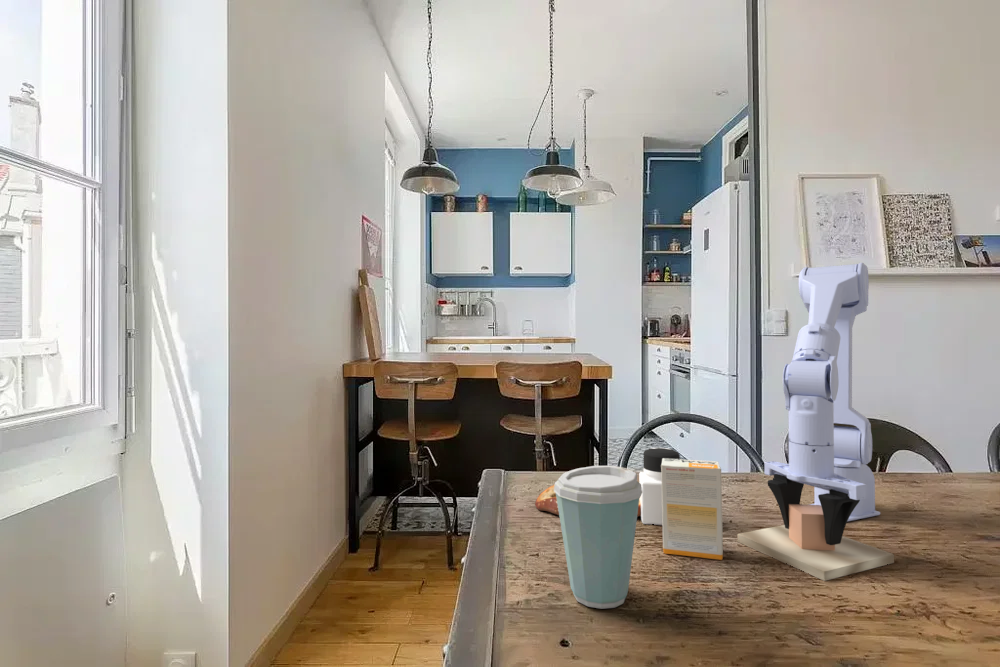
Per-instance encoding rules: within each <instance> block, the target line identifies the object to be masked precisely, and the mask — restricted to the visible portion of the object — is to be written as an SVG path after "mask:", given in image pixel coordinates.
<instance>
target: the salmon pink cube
mask: <svg viewBox="0 0 1000 667" xmlns="http://www.w3.org/2000/svg"><path fill="white" fill-rule="evenodd" d="M789 538H790V539H791V540H793V541H794V542H795V543H796V544H797V545H798V546H799V547H800V548H801V549H814V550H835V545H829V544H826V540H825V522H824V515H823V510H822V506H820V505H809V504H801V503H800V504H789Z"/></svg>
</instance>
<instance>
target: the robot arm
mask: <svg viewBox="0 0 1000 667" xmlns="http://www.w3.org/2000/svg"><path fill="white" fill-rule="evenodd" d="M869 280H870V279H869V268H868V266H867V265H866V264H865V263H864V262H858V263H853V264H851V263H850V264H841V265H840V264H838V265H827V266H817V267H816V266H815V267H808V266H804V267H803V268H802V269H801V270H800V272H799V275H798V291H799V292H798V293H799V297H800V299H801V300H802V302H803V305H804V307H805V309H806V311H807V312H808V320H807V322H808V323H807V324H806V325H803V326H802V327H801V328H800V329H799V331H798V333H797V337H796V341H795V346H794V350H793V354H792V355H793V356H792V359H791V361H790V363H785V365H784V367H783V370H782V387H783V388H782V389H783V393H784V402H785V403H784V405H785V409H786V410H787V411H788V414H787V415H788V416H787V418H788V424H787V425H788V463H784V462H779V461H776V460H775V461H774V460H771V461H765V462H764V475H767V476H773V477H772V479H769V480H767V486H768V487H769V489H770V491H771V492H772V494H773V496H774V498H775V500H776V503H777V505H778V507H779V510H780V515H781V519H782V522H783V525H785V528H787V529H789V504H801V498H802V492H803V488H804V486H805V485H807V486H811V487H814V489H813V490H814V492H813V493H814V496H813V498H814V503H810V504H809V503H808V505H820V506H822V510H823V515H824V522H825V540H826V544H829V545H835V544H840V543H841V539H842V536H844V535H843V534H844V532H845V528H846V526H847V523H848V522H851V521H856V520H860V519H866V518H867V519H868V518H871V517H875V516H880V515H881V511H877V510H876V480H875V475H874V473H873V471H872V469H871V468H870V466H868V464H869V463H870V462H871V461H872V456H873V435H872V426H871V425H872V424H871V422H870V420H869V418H868V417H866V416H865V415H863V414H862V413H861V412H859V411H857V410H856V409H854V407H853V326H854V323H855V319H856V316H858V315H861V314H863V313H865V312H867V309H868V306H869V286H870V285H869V284H870V281H869ZM834 424H841V425H834ZM844 425H850V426H844Z"/></svg>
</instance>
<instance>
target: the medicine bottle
mask: <svg viewBox="0 0 1000 667" xmlns="http://www.w3.org/2000/svg"><path fill="white" fill-rule="evenodd" d="M680 457H681V455H680V453H679V452H678V451H676V450H674V449H673V448H668V447H667V448H666V447H650V448H648V449H645V450H644V451H643V471H640V472H639V474H638V475H639V477H638V478H639V479H638V482H639V483H640V484H641V488H642V494H641V497H640V503H641V516H640V520H641V523H642V524H643V525H652V524H654V525H655V526H656V525H657V526H662V475H661V464H662V459H663V458H668V459H681V458H680ZM654 525H653V526H654Z"/></svg>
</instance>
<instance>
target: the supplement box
mask: <svg viewBox="0 0 1000 667" xmlns="http://www.w3.org/2000/svg"><path fill="white" fill-rule="evenodd" d="M661 475H662V525H661V526H662V551H663V554H666V555H677V556H684V557H686V556H687V557H695V558H702V559H710V560H711V559H712V560H717V561H718V560H719V561H722V560H723V558H724V552H723V551H724V550H723V549H724V548H723V545H724V543H723V542H724V540H723V536H724V535H723V497H722V496H723V494H722V492H723V490H722V487H723V486H722V468H721V466H720V463H719V461H715V460H714V461H713V460H701V459H700V460H699V459H682V458H680V459H668V458H663V459H662V464H661Z"/></svg>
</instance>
